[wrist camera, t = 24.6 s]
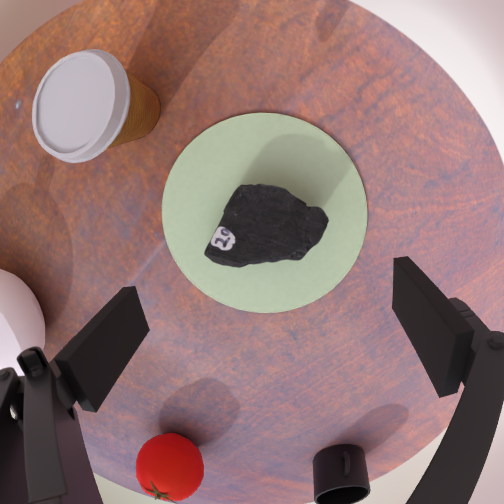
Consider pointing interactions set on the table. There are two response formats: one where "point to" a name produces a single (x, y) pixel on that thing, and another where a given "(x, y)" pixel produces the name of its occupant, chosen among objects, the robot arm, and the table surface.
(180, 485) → the tomato
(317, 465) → the mug
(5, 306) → the vase
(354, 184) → the mat
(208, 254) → the rock
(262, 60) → the table surface
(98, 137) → the disposable coffee cup
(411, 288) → the robot arm
